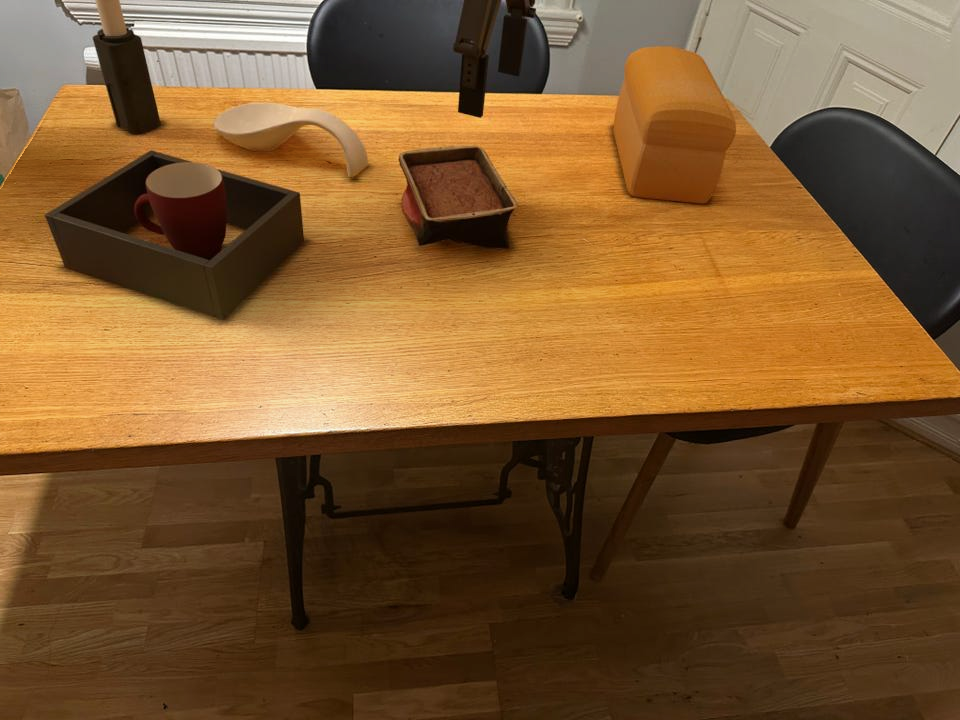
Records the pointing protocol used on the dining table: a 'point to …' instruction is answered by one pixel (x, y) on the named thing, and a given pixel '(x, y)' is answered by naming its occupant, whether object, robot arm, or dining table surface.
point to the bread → (671, 126)
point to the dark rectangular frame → (165, 271)
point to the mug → (186, 207)
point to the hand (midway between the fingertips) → (490, 92)
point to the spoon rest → (286, 129)
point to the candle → (125, 71)
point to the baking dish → (456, 197)
